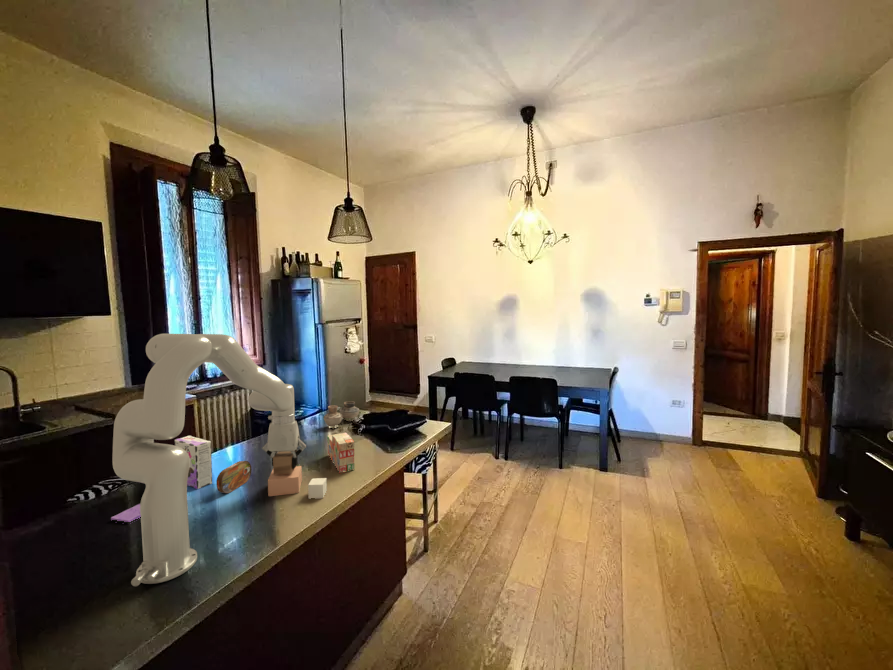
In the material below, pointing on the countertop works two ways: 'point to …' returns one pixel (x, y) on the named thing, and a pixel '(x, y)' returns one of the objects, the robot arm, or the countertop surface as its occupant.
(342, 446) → the stack of blocks
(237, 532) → the countertop surface
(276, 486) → the terracotta block
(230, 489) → the tin
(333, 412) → the pottery
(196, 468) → the candy box
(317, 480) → the off-white cube
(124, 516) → the sponges
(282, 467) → the walnut cube
